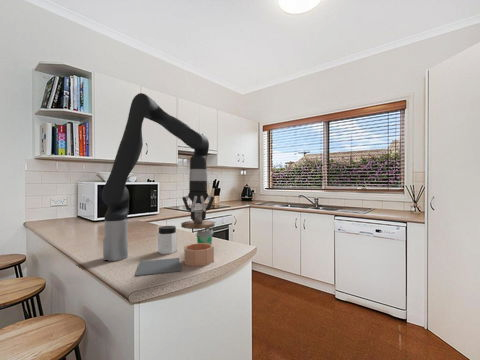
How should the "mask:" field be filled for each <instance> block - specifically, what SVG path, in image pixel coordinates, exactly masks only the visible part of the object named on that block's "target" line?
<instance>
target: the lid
mask: <svg viewBox="0 0 480 360" xmlns="http://www.w3.org/2000/svg"><path fill="white" fill-rule="evenodd" d="M180 227H181V228H183V229H189V230H190V229H191V230H202V229H203V230H205V228H214V227H215V221H211V220H205V219H204V220H202V210H194V221H192V220H188V221H183V222H181V225H180Z"/></svg>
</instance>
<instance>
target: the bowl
mask: <svg viewBox="0 0 480 360" xmlns="http://www.w3.org/2000/svg"><path fill="white" fill-rule="evenodd" d="M214 251H215V249H214V245H213V243H212V244H206V243H191V244H187V245H185V246H183V252H184V253H183V260H184V265H187V266H192V267H198V266H199V267H200V266H201V267H202V266H207V265H209V264H211V263H213V262H214V261H215V254H214V253H215V252H214Z"/></svg>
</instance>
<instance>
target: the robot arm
mask: <svg viewBox="0 0 480 360" xmlns="http://www.w3.org/2000/svg"><path fill="white" fill-rule="evenodd" d="M128 112H129V113H128V116H127V121H126V125H125V128H124V131H123V135H122V137H121V140H120V143H119V146H118V148H117V152H116V156H115V158H114V162H113V164H112V168H111V171H110V174H109V175H108V177H107V180H106V182H105V184H104V186H103V188H102V191H101V199H102V202H104V204H105V205H107V210H106V212H105V214H104V238H103V240H102V242H103V243H102V246H103V247H102V248H103V249H102V250H103V252H102V253H103V255H102V256H103V257H102V258H103V260H108V261H107V262H114V261H115V262H116V261H122V260H124V259H127V258H129V257H128V256H129V255H128V254H129V250H128V247H129V245H128V244H129V243H128V240H129V239H128V215H129V211H130V192H129V189H128V188H127V187H126V184H127V181H128V178H129V175H130V174H131V172H132V171H133V169H134V168H135V166H136V165H137V163H138V161H139V158H140V156H141V153H142V149H143V143H144V142H143V141H144V140H143V132H142V130H143V128H142V127H143V122H144V119H148V120H150V121H152V122H154V123H156V124H158V125H159V126H161V127H163V128H164V129H165V130H166V131H167V132H168V133H170V134H171V135H173V136H174V137H175V138H178V139H179V140H181V142H183V143H184V144H185V145H186V146H188V147H189V148H191V149H192V150H194V151H193V155H192V156H191V157H190V158H189V175H188V176H189V178H188V182H189V187H188V189H189V190H188V191H189V192H188V195H186V196H182V201H183V204H184V206H185V210H187V211H189V212H190V219H191V221H194V211H195V207H196V205H198V204H199V205H201V208H202V210H201V211H202V220H205V219H206V216H207V215H206V214H207V213H206V212H207V211H210V210H211V207H212V205H213V203H214V199H215V197H214V196H212V195H209V194H208V172H207V170H208V169H207V167H208V166H207V160H208V159H207V158H208V154H209V149H210V142H209V139H208V137H207V136H206V135H204V134H202V133H200V132H198V131H196V130H194V129H193V128H191V126H189V125H188V124H186V123H185V122H184V121H182V120H180V119H179V118H177V117H175V116H173V115H172V114H168V113H167V111H165V110H163V108H162V107H160V105H158V103H157V102H156V101H155V100H153V99H152V98H151V97H150V96H148V95H147V94H146V93H143V92H140V93H137V94H136V95H135V96H134V97H133V99H132V101H131V103H130V108H129V111H128ZM189 200H190V202H191V206H189V204H188V201H189ZM206 200H208V201H207V202H208V203H207V206H206V204H205V201H206Z"/></svg>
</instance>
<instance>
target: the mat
mask: <svg viewBox="0 0 480 360" xmlns="http://www.w3.org/2000/svg"><path fill="white" fill-rule="evenodd" d="M181 269H182V267H181V261H180V257H174V258H163V259H152V260H142V261H139V263H138V267H137V269H136V272H135V276H134V277H144V276H150V275H151V276H152V275H153V276H154V275H158V274H159V275H160V274H168V273H177V272H181V271H182V270H181Z"/></svg>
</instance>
